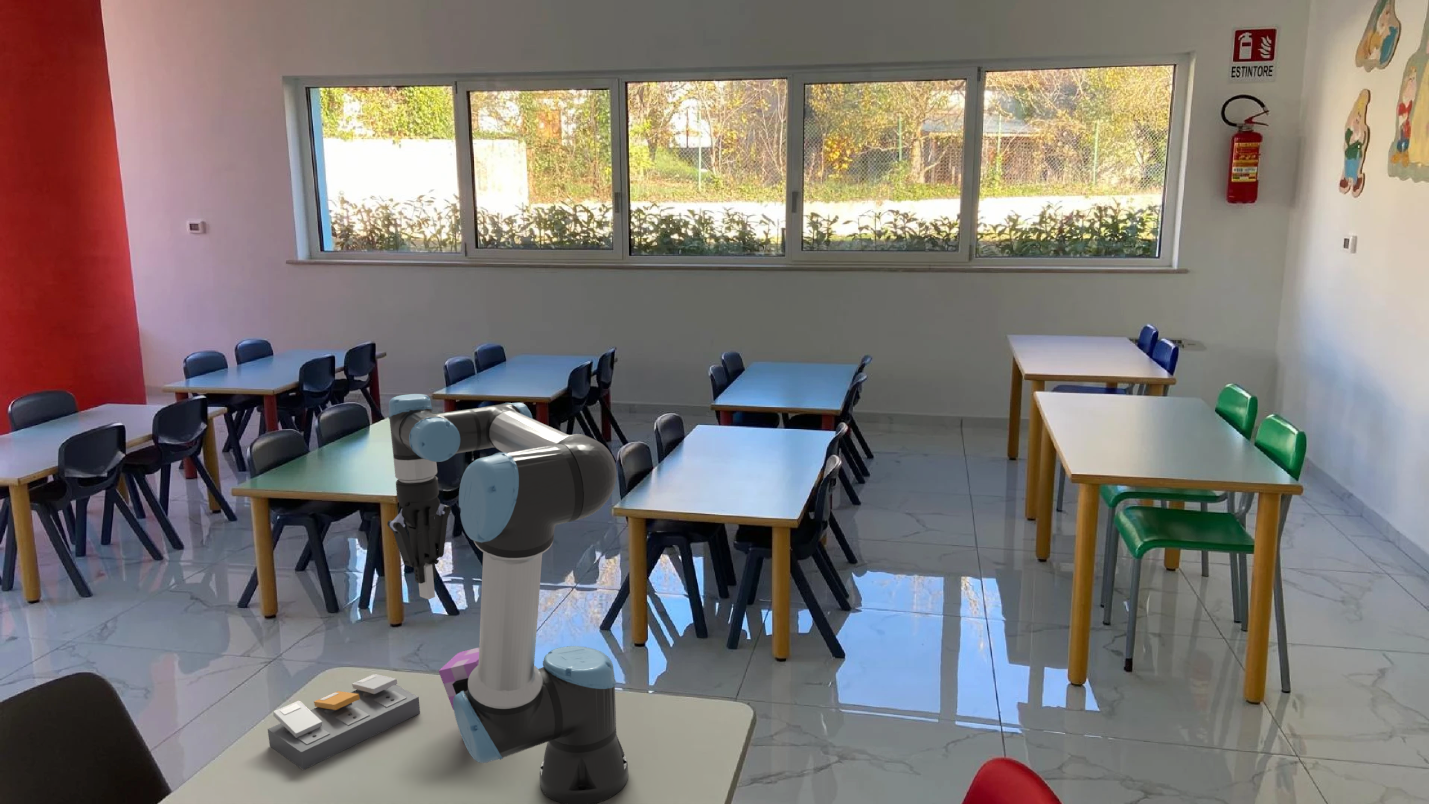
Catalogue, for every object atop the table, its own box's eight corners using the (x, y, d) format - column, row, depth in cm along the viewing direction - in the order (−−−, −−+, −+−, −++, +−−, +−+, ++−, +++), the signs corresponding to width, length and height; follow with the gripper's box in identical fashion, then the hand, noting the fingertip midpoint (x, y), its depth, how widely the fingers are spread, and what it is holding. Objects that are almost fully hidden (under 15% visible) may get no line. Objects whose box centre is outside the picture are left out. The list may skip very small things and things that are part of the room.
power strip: (420, 713, 191) (418, 693, 190) (303, 769, 173) (300, 748, 172) (385, 693, 198) (383, 674, 198) (269, 746, 180) (267, 725, 179)
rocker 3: (397, 683, 192) (396, 678, 192) (374, 694, 188) (373, 688, 188) (375, 678, 197) (374, 673, 197) (352, 688, 193) (351, 683, 193)
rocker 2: (359, 699, 186) (358, 693, 186) (335, 709, 182) (334, 704, 182) (339, 696, 191) (337, 690, 191) (314, 706, 187) (313, 701, 187)
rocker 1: (322, 726, 180) (322, 721, 179) (296, 737, 176) (296, 732, 176) (299, 704, 184) (299, 699, 184) (273, 715, 181) (273, 710, 180)
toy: (500, 739, 180) (472, 665, 178) (462, 747, 182) (434, 674, 180) (523, 711, 190) (497, 640, 188) (487, 719, 192) (461, 649, 190)
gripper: (432, 466, 190) (442, 581, 194) (374, 482, 179) (386, 603, 184) (457, 472, 185) (467, 589, 190) (399, 489, 175) (410, 612, 180)
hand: (427, 596), depth 187 cm, fingers closed
